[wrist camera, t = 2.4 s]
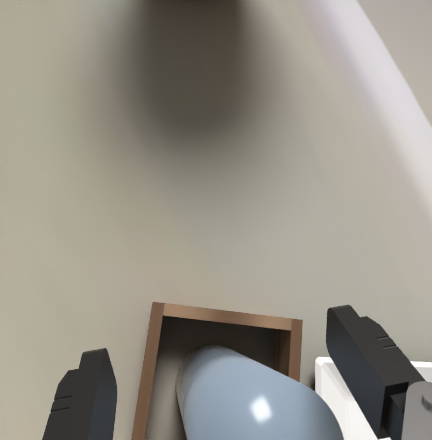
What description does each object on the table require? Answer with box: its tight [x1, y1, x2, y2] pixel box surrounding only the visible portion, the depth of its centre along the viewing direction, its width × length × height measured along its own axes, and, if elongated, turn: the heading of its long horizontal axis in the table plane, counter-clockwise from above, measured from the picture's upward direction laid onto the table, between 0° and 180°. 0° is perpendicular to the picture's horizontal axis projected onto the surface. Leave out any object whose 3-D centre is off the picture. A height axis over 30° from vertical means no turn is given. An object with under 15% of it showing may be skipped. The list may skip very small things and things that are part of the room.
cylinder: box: [176, 345, 344, 440], centre depth 21 cm, size 6×6×15 cm
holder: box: [132, 302, 303, 440], centre depth 26 cm, size 11×11×4 cm
